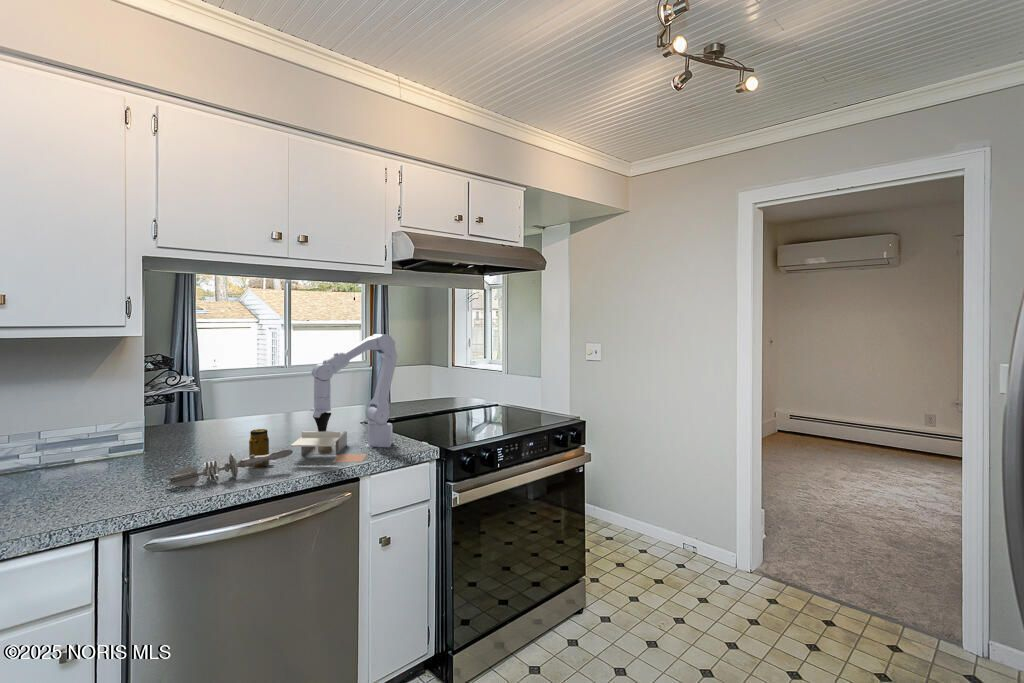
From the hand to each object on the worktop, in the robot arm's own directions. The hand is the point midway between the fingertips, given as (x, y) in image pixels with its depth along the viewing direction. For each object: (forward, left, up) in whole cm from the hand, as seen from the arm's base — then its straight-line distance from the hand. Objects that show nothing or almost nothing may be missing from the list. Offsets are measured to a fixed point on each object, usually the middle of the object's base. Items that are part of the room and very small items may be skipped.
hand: (322, 432), depth 190 cm
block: (0, -4, -7) cm, 8 cm away
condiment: (+16, +14, -8) cm, 23 cm away
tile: (-12, +8, -8) cm, 17 cm away
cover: (0, +7, -1) cm, 8 cm away
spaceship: (+19, +28, -8) cm, 35 cm away
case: (0, -4, -8) cm, 8 cm away
